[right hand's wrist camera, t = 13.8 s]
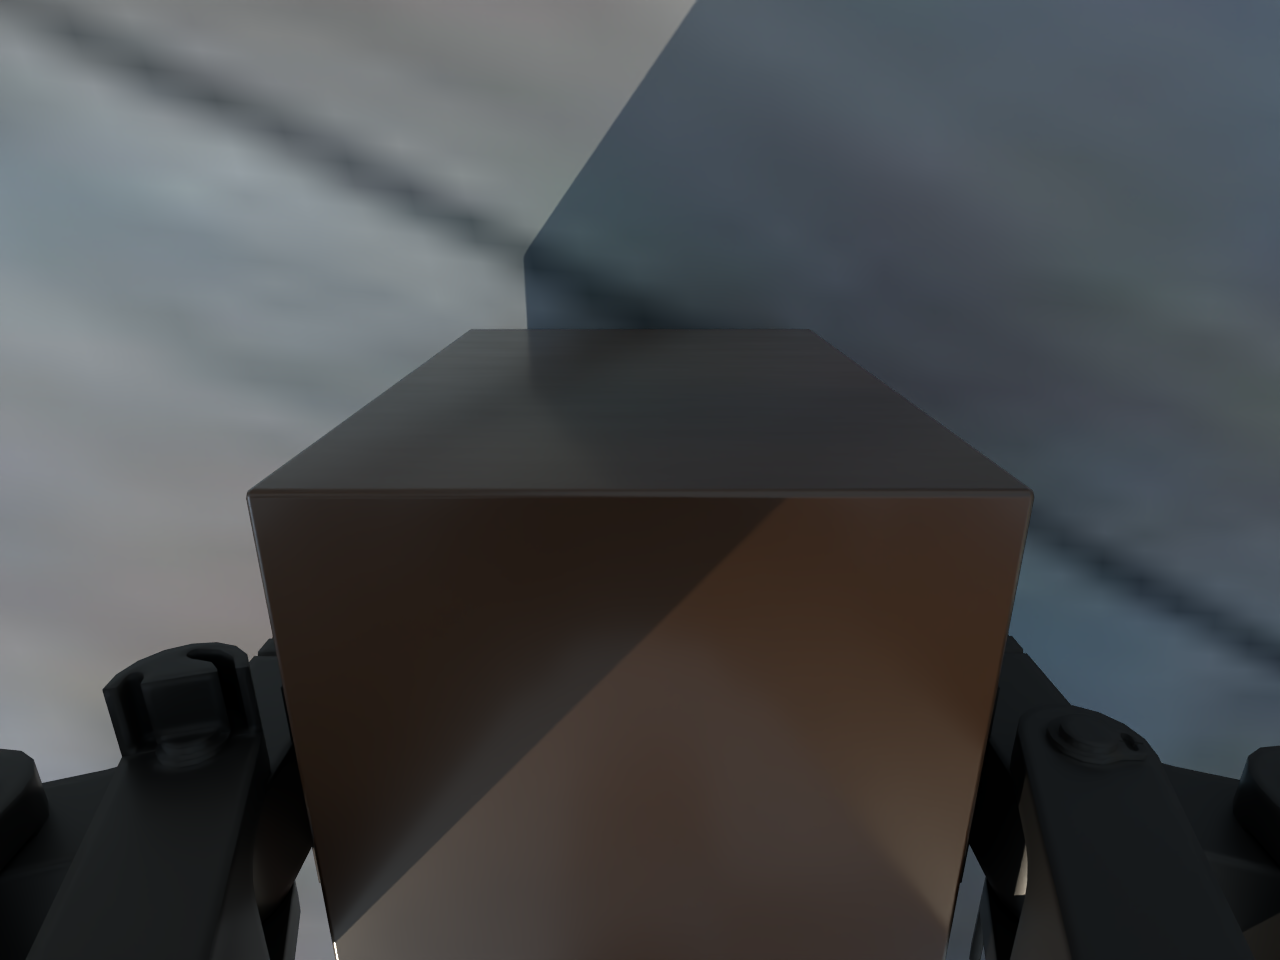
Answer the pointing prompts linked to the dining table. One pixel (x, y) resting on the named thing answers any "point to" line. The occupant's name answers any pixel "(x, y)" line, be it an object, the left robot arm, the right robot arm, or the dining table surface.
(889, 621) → the walnut beam
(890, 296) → the dining table surface
